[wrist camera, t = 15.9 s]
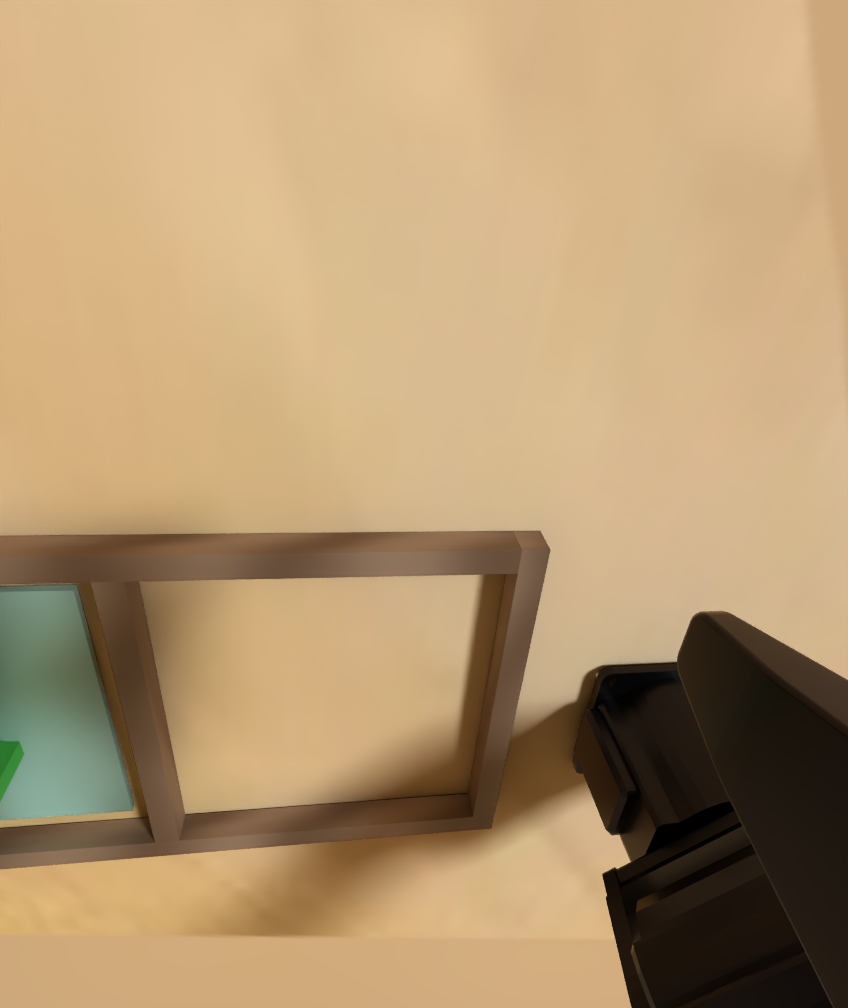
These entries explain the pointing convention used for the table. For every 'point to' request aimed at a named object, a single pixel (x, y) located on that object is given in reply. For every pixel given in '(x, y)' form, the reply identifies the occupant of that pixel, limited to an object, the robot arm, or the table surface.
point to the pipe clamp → (9, 763)
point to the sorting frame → (87, 719)
